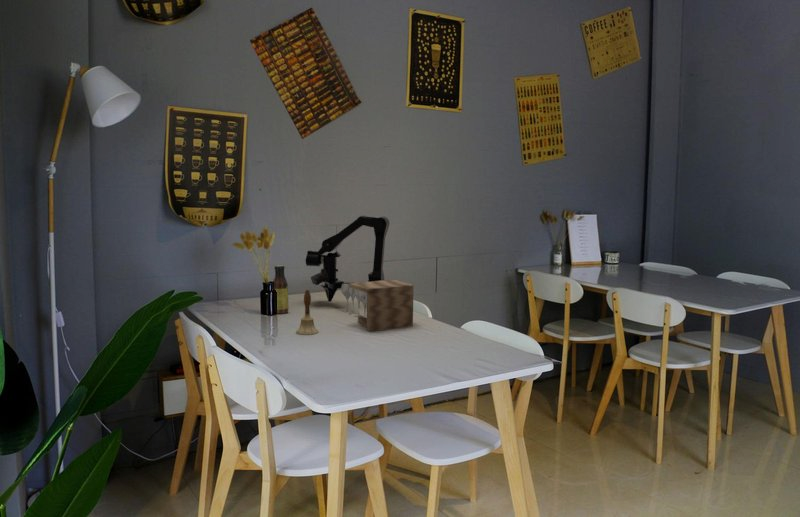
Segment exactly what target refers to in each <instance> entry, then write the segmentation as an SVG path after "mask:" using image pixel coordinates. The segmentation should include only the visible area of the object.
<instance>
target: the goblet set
mask: <svg viewBox="0 0 800 517" xmlns="http://www.w3.org/2000/svg"><path fill="white" fill-rule="evenodd" d="M350 283H351V282H350V281H348V282H346V281H344V283H342V285H341V288H340V292H341V294H342V295H343V296H344V297H345V299H346V306H347V307H346V309H343V310H341V311H342V312H343V313H348V315H350V316H351V315H354V316H353V317H354V318H358V316H363V317H365V318H366V314H367V293H365V292H362V291H359V290H356V289H353V288H350V287H349V284H350ZM350 298H351V301H352V309H349V299H350ZM355 299H356V301H357V305H358V309H360V304H361V303H362V304H363V307H364V308H363V309H364V313H363V314H364V315H361V314H360V313H359V312H355V310H354V309H355V307H354V304H355Z"/></svg>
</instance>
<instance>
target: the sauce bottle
mask: <svg viewBox="0 0 800 517" xmlns="http://www.w3.org/2000/svg"><path fill="white" fill-rule="evenodd" d="M274 273H275V274H274V279H273V281H272V283H273V282H274V289H275V290H276V292H277V313H276V314H279V315H280V314H288V312H289V285H288V281H287V279H286V276H285V265H283V264H281V265H278V264H277V265H274Z"/></svg>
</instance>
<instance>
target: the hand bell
mask: <svg viewBox="0 0 800 517" xmlns="http://www.w3.org/2000/svg"><path fill="white" fill-rule="evenodd" d="M311 303H312V297H311V292H310V289H305V292H304V295H303V304H304V307H305V308H304V316H303V317H301V318H300V324H299V326H298V328H297V329H296V331H295V333H296V334H297V335H302V336H303V335H304V336H312V335H316V334H318V333H319V330H318V329H317V328H316V326H315V323H314V318H313V317H312V316H311V315H310V314H311V313H310V306H311Z"/></svg>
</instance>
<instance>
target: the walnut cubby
mask: <svg viewBox="0 0 800 517" xmlns="http://www.w3.org/2000/svg"><path fill="white" fill-rule="evenodd" d="M349 287H350V288H353V289H356V290H359V291H362V292H365V293H367V305H366V316H365V317H363V316H364V315H362V316H358V317H357V323H358V324H360V325H363V326H366V332H367V333H371V332H376V331H384V330H391V329H392V330H393V329H399V328H405V327H412V326H413V325H414V289H415V288H414V285H413V284H410V283H407V282H403V281H401V280H396V279H384V280H382V281H371V282H368V281H363V282H361V281H360V282H350V284H349Z"/></svg>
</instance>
